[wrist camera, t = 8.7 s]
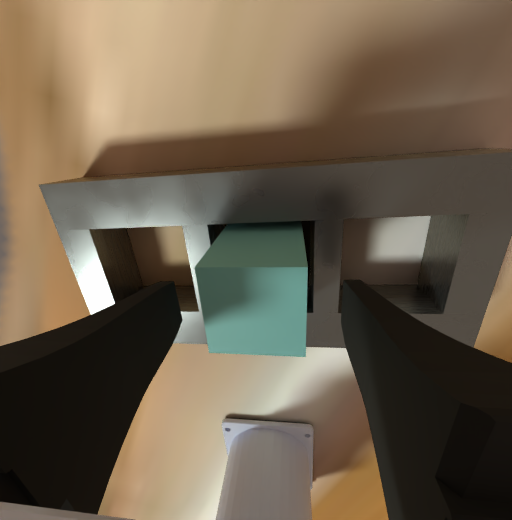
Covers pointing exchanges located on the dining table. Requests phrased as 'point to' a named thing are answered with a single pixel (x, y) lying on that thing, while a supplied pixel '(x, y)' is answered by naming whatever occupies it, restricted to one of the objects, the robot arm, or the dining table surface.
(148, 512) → the dining table surface
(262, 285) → the square peg
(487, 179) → the rail
